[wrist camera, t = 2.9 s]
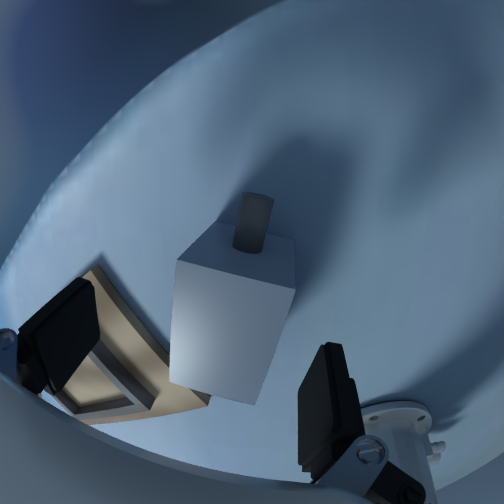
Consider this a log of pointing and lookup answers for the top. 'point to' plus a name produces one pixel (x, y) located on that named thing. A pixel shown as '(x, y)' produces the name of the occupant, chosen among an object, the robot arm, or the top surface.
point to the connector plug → (231, 304)
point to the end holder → (123, 369)
